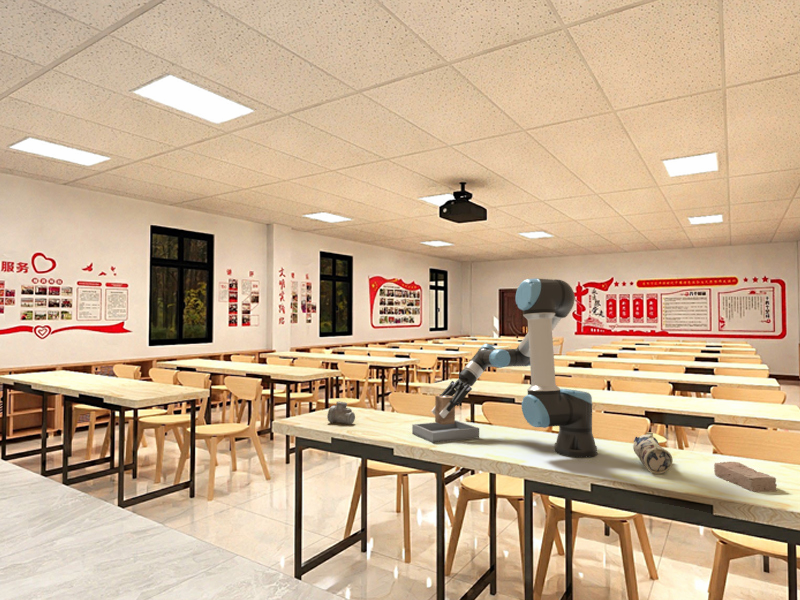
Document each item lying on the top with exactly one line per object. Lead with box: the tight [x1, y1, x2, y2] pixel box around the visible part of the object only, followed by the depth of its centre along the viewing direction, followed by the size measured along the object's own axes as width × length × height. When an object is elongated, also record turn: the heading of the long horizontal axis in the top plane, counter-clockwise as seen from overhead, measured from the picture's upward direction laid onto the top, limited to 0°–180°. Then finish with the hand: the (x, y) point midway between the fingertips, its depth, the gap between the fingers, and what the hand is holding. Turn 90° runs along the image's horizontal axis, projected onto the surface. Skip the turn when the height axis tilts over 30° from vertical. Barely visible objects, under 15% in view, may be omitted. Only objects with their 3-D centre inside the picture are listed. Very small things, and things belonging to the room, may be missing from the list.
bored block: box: [434, 395, 456, 425], centre depth 224 cm, size 6×6×11 cm
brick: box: [713, 461, 778, 493], centre depth 163 cm, size 16×8×5 cm, turn 6°
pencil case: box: [632, 431, 674, 475], centre depth 179 cm, size 22×8×10 cm, turn 166°
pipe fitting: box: [326, 400, 356, 426], centre depth 248 cm, size 12×8×10 cm
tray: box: [411, 419, 480, 444], centre depth 224 cm, size 18×22×4 cm
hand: (437, 414), depth 223 cm, fingers closed on bored block, 6 cm apart
